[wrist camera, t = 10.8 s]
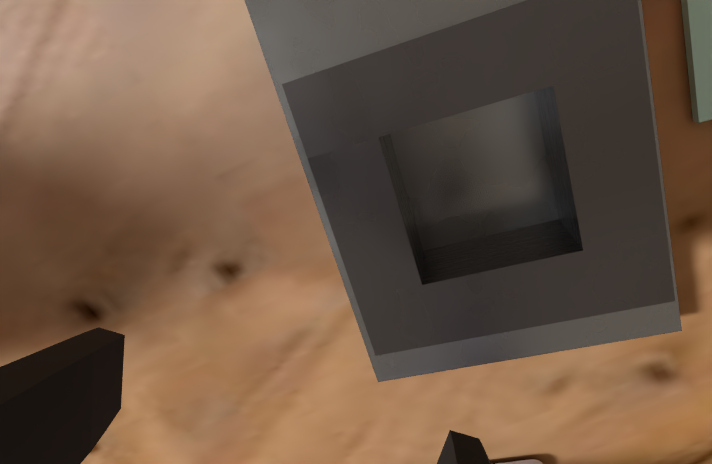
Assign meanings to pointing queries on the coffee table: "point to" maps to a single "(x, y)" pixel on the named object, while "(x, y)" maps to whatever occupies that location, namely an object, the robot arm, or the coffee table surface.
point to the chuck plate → (480, 171)
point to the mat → (699, 55)
